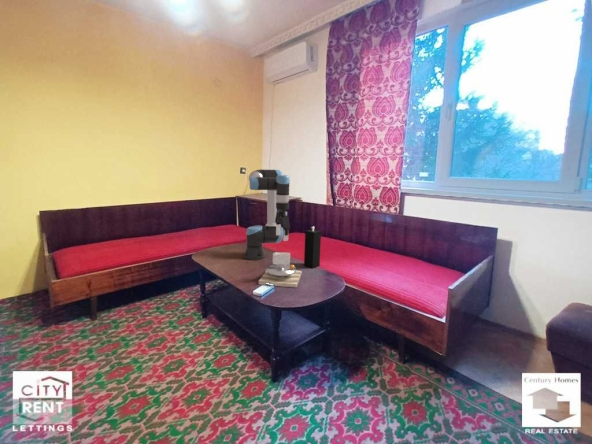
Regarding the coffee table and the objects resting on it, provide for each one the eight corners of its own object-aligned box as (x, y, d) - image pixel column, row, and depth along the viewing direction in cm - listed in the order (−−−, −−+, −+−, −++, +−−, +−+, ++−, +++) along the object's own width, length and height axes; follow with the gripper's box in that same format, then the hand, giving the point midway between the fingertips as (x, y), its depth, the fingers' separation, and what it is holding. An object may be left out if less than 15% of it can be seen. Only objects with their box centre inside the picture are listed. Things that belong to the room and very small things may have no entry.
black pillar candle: (303, 265, 202) (305, 226, 197) (311, 263, 208) (312, 224, 202) (312, 268, 197) (314, 227, 191) (319, 265, 202) (321, 226, 197)
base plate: (267, 271, 189) (267, 263, 188) (301, 273, 186) (301, 266, 185) (258, 284, 168) (258, 276, 167) (296, 287, 165) (296, 279, 164)
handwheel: (264, 275, 168) (264, 257, 166) (268, 265, 185) (268, 248, 183) (295, 276, 167) (295, 258, 165) (296, 266, 185) (297, 249, 183)
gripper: (296, 204, 158) (295, 242, 163) (281, 199, 181) (281, 232, 185) (283, 205, 156) (282, 243, 160) (270, 199, 179) (269, 233, 183)
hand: (281, 237), depth 173 cm, fingers open, 13 cm apart
